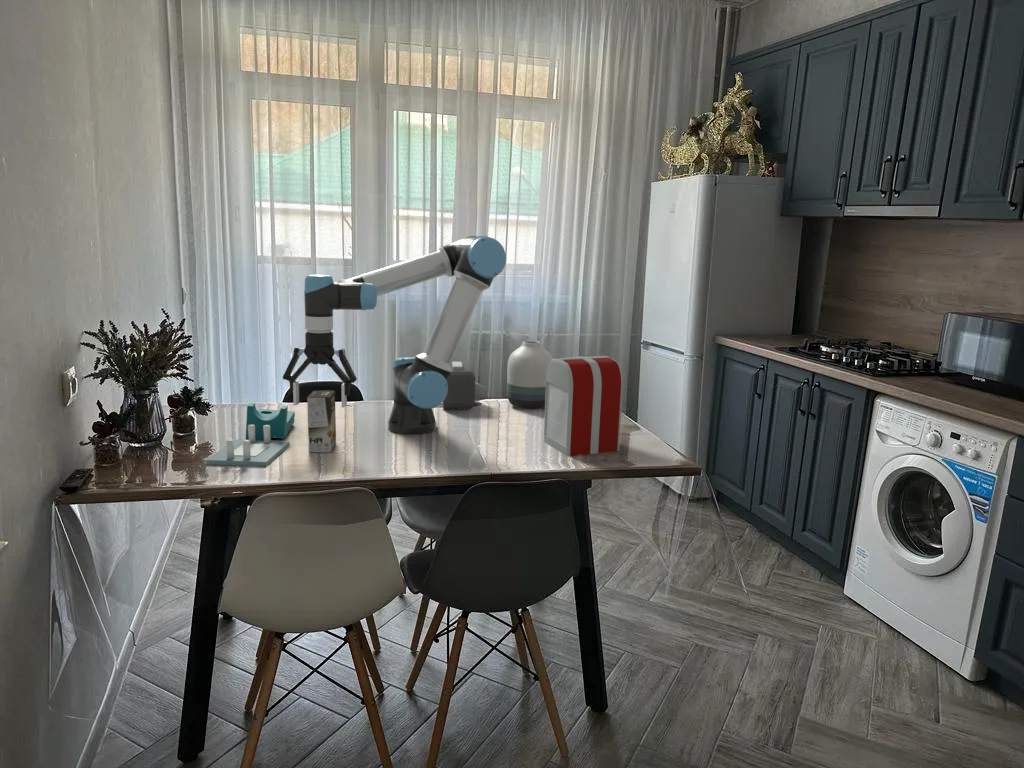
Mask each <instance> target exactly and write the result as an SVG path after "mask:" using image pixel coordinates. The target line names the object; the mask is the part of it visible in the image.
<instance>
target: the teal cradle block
mask: <svg viewBox="0 0 1024 768" xmlns="http://www.w3.org/2000/svg"><path fill="white" fill-rule="evenodd" d="M256 407H257V406H256V403H254V402H249V403H248V404H247V405H246V427H245V440H249V436H248V425H255V440H263V441H264V430H263V426H264V425H270V437H271V438H278V439H285V438H286V436H287V435H288V432H289V431H290V430H291V428H292V427H293V425H294V423H295V417H296V416H295V415H296V412H295V411H291V410H288V405H282V406H281V407H280V408H279V410H277V409H268V408H267V409H265V408H259V409H257V408H256Z"/></svg>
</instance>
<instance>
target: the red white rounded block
mask: <svg viewBox="0 0 1024 768" xmlns="http://www.w3.org/2000/svg"><path fill="white" fill-rule="evenodd" d="M623 388H624V378H623V371H622V368H621V365H620V364H619V362H618V361H617V360H615V359H614V358H612V357H610V356H608V355H598V356H597V355H596V356H581V355H579V356H573V357H557V358H556V357H555V358H553V359H552V360H551V361H550V363H549V365H548V369H547V374H546V395H545V407H544V427H543V442H544V443H545V444H547V445H548V446H550V447H552V448H553V449H554V450H556V451H558V452H560V453H561V454H562V455H564V456H566V457H574V456H575V457H576V456H583V455H595V454H596V455H597V454H602V453H611V452H619V451H620V439H621V438H620V437H621V419H622V405H623V404H622V403H623V392H624V391H623Z"/></svg>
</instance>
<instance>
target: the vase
mask: <svg viewBox="0 0 1024 768" xmlns="http://www.w3.org/2000/svg"><path fill="white" fill-rule="evenodd" d="M552 359H554V358H553V356H552V354H551V353H550V352H549V351H548V350H547V349H545V348H544V347H543V346H542V344H541V342H540V341H538V340H524V341H522V343H521V345H520V346H519V347H518V348H516V349H515V350H514V351H512V353H510V355H509V357H508V360H507V369H506V370H507V371H506V372H507V374H506V380H507V381H506V394H507V395H506V396H507V400H508V402H509V404H510V405H512V406H513V407H515V408H518V409H524V410H541V409H543V408H544V409H545V395H546V374H547V369H548V365H549V363H550V361H551V360H552Z"/></svg>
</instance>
